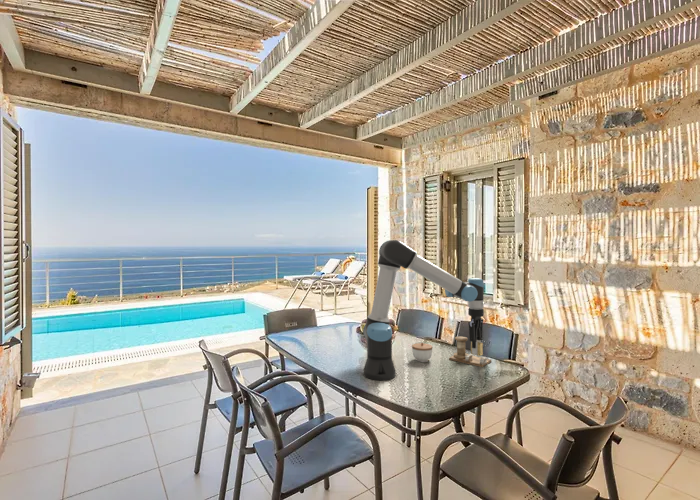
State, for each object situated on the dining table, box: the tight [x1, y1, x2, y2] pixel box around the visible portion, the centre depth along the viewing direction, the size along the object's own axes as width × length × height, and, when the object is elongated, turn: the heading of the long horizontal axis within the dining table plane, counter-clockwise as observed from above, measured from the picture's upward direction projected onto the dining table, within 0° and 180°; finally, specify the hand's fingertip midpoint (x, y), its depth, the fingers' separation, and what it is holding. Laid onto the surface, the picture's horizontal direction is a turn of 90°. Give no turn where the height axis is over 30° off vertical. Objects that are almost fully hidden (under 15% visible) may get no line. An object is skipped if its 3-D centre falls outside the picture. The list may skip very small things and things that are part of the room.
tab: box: [470, 341, 484, 357], centre depth 183 cm, size 3×5×6 cm, turn 47°
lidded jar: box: [411, 342, 433, 363], centre depth 189 cm, size 11×11×9 cm
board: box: [449, 353, 492, 368], centre depth 189 cm, size 12×18×4 cm, turn 47°
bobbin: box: [453, 335, 470, 359], centre depth 192 cm, size 8×8×10 cm
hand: (476, 353), depth 184 cm, fingers closed on tab, 3 cm apart
